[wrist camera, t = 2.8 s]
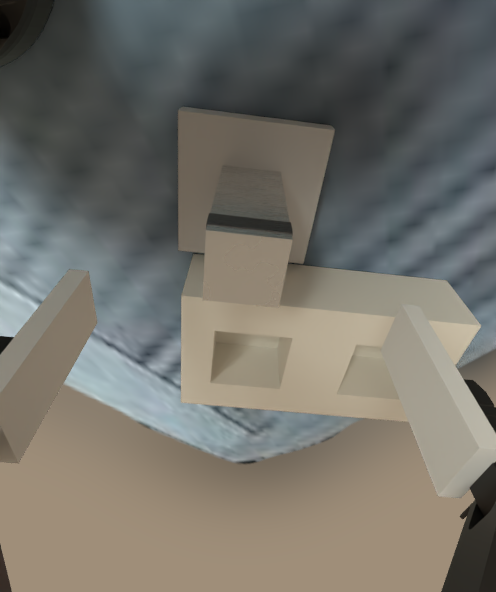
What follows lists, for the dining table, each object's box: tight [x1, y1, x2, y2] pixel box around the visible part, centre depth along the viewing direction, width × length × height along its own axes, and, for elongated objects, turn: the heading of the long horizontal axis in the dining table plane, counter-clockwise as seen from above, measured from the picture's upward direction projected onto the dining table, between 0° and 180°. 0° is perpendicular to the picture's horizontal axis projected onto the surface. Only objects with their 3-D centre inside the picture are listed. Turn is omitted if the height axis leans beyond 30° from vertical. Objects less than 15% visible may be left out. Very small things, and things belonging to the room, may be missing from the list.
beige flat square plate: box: [178, 107, 335, 264], centre depth 26 cm, size 10×10×2 cm
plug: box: [203, 165, 293, 308], centre depth 22 cm, size 4×4×10 cm
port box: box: [181, 253, 481, 422], centre depth 32 cm, size 22×12×6 cm, turn 84°
